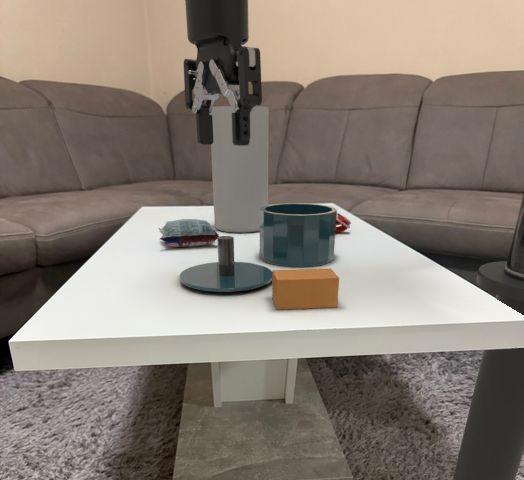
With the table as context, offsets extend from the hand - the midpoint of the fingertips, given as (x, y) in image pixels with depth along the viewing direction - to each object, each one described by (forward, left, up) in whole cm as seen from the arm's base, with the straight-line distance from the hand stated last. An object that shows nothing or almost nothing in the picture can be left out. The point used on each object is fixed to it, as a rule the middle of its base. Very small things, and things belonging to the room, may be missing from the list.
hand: (222, 144), depth 61 cm
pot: (-18, -4, -19) cm, 26 cm away
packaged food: (-8, -25, -19) cm, 33 cm away
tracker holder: (-36, -15, -19) cm, 43 cm away
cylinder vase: (-26, -32, -19) cm, 45 cm away
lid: (0, 0, -18) cm, 18 cm away
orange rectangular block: (-2, +14, -19) cm, 24 cm away
